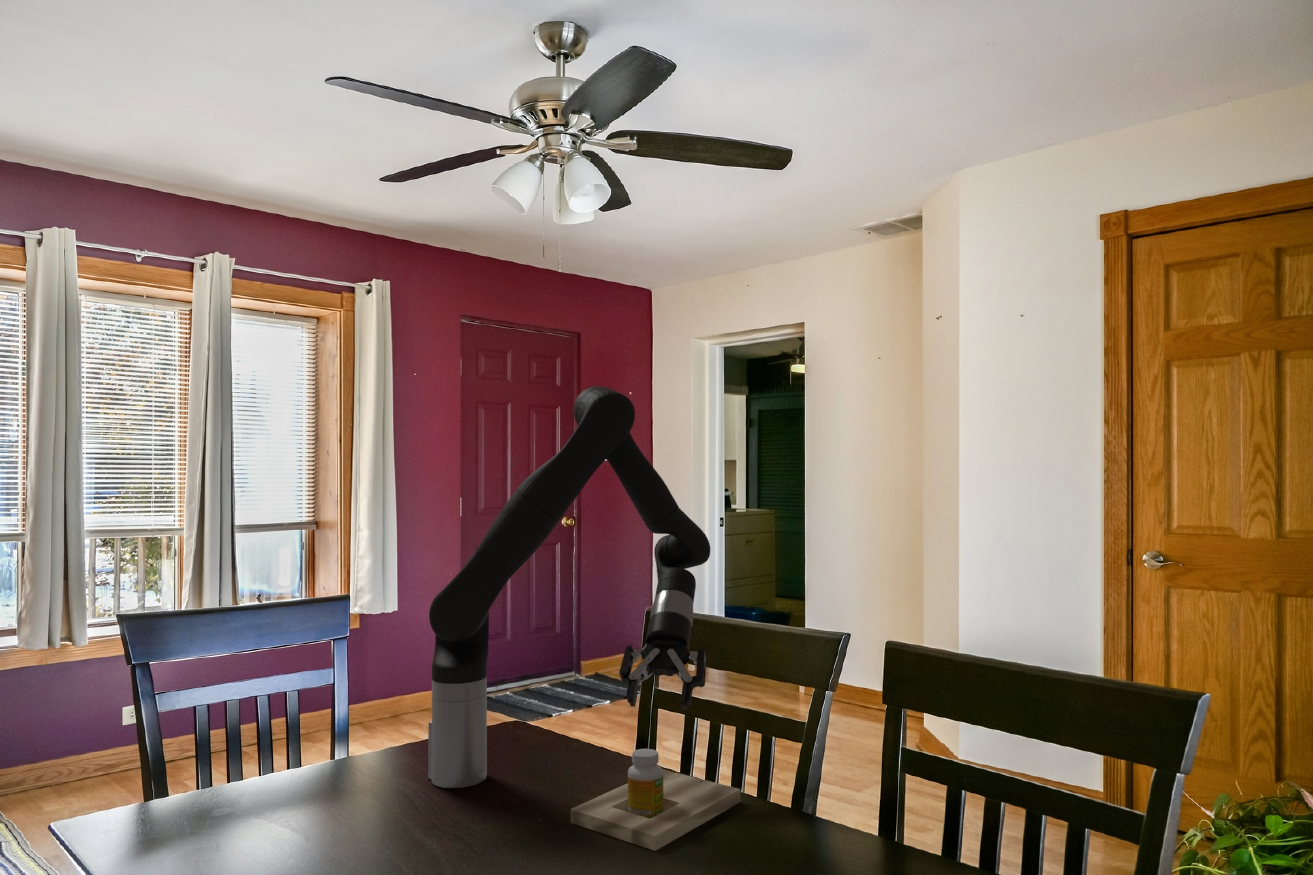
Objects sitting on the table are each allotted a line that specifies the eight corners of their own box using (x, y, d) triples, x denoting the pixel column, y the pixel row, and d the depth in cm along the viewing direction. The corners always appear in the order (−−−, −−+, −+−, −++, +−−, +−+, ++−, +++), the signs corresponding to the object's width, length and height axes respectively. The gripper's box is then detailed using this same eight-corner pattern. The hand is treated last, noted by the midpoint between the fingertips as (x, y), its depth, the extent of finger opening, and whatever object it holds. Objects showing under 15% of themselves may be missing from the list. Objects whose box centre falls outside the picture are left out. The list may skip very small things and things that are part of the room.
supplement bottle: (659, 826, 126) (659, 759, 127) (624, 823, 127) (623, 757, 128) (666, 812, 131) (666, 747, 132) (632, 809, 132) (632, 745, 133)
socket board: (570, 822, 128) (570, 809, 128) (660, 780, 145) (660, 768, 145) (655, 850, 118) (655, 835, 118) (740, 801, 135) (740, 788, 135)
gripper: (627, 608, 149) (610, 691, 138) (708, 610, 147) (698, 695, 135) (634, 633, 154) (619, 715, 143) (713, 636, 151) (703, 720, 140)
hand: (657, 705), depth 139 cm, fingers open, 8 cm apart
